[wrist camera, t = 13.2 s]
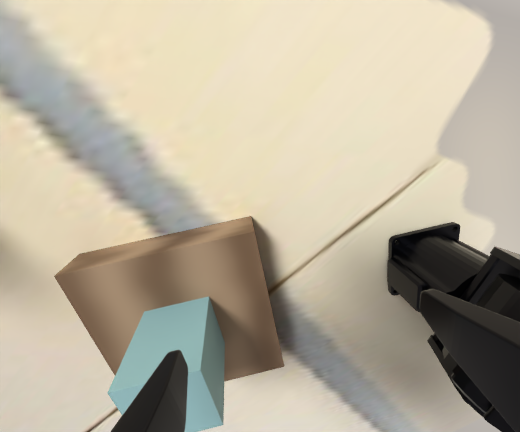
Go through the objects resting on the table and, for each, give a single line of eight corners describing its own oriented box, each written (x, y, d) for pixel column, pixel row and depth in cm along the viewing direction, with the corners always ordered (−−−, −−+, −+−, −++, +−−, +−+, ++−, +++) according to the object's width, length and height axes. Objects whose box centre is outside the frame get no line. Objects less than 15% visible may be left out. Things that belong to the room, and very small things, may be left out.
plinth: (251, 216, 20) (254, 231, 17) (278, 339, 25) (284, 366, 22) (79, 254, 19) (54, 276, 17) (143, 372, 25) (132, 404, 22)
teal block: (209, 296, 19) (200, 369, 13) (224, 342, 21) (223, 424, 15) (144, 311, 18) (107, 393, 13) (166, 357, 20) (142, 445, 15)
